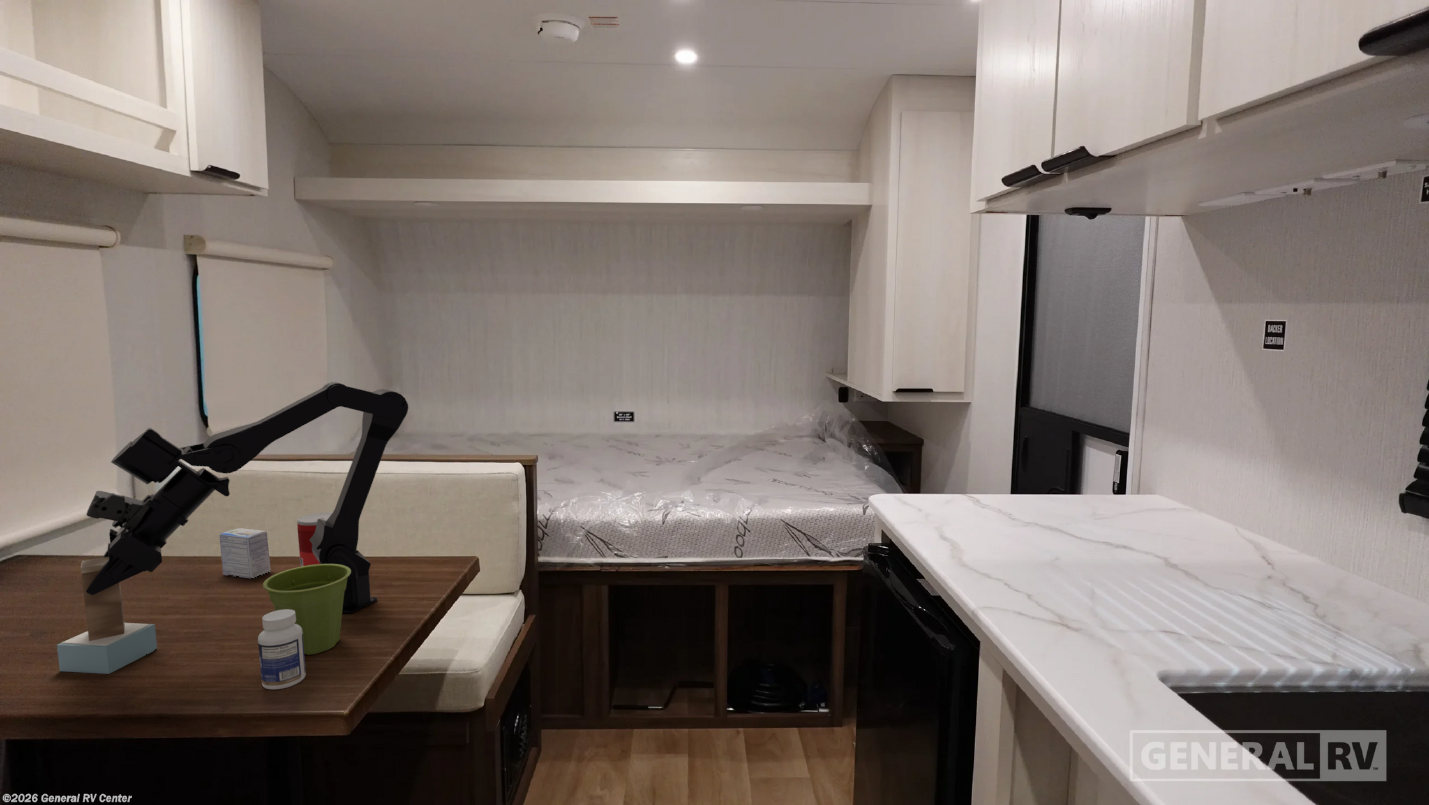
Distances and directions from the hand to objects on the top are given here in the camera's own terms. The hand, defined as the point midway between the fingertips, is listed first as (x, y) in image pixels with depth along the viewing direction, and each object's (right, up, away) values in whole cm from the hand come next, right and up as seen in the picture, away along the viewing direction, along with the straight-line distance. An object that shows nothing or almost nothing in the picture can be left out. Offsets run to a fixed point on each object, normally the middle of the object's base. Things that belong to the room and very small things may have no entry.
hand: (89, 587), depth 108 cm
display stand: (+1, -11, +2) cm, 12 cm away
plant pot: (+30, -11, +6) cm, 32 cm away
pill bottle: (+31, -12, -5) cm, 34 cm away
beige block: (+1, -7, +2) cm, 7 cm away
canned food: (+12, -7, +41) cm, 44 cm away
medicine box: (-2, -7, +40) cm, 40 cm away
